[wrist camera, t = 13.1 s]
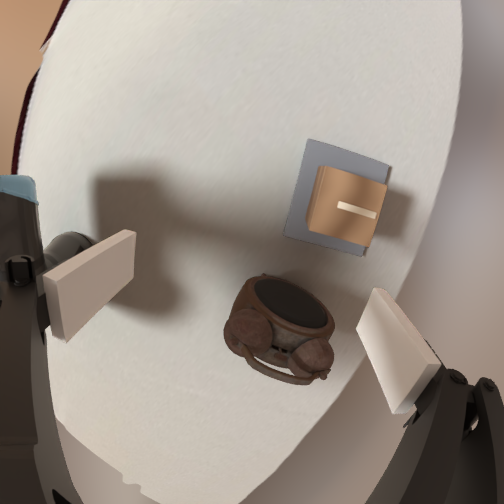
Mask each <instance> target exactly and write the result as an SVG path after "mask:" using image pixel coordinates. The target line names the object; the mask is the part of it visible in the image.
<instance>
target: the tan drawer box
mask: <svg viewBox="0 0 504 504" xmlns="http://www.w3.org/2000/svg"><path fill="white" fill-rule="evenodd" d="M386 190H387V186H386V185H384V184H381V183H378V182H375V181H372V180H369V179H367V178H364V177H361V176H358V175H355V174H352V173H348V172H345V171H342V170H339V169H336V168H332V167H329V166H318V170H317V174H316V178H315V182H314V186H313V190H312V193H311V197H310V201H309V205H308V208H307V212H306V216H305V220H306V223H307V226H308V228H309V230H310V231H313V232H317V233H321V234H324V235H328V236H332V237H335V238H339V239H342V240H346V241H349V242H353V243H356V244H360V245H363V246H367V247H369V246H370V243H371V240H372V237H373V234H374V231H375V227H376V224H377V221H378V218H379V214H380V211H381V208H382V204H383V201H384V197H385V193H386Z"/></svg>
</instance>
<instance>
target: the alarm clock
mask: <svg viewBox="0 0 504 504" xmlns="http://www.w3.org/2000/svg"><path fill="white" fill-rule="evenodd" d="M334 329H335V323H334V320H333V317H332V316H331V314H330V313H329V311H328V310H327V308H326V307H325V306H324V305H323V304H322V303H321V302H320V301H319V300H318V299H317V298H316V297H314V295H312V294H310V293H309V292H307V291H306V290H304V289H302V288H300V287H299V286H297V285H295V284H292V283H290V282H287V281H285V280H282V279H278V278H273V277H266V275H265V274H262V275H261V276H258V277H252V278H250V279H248V280H247V281H246V282H245V284H244V285H243V287H242V289H241V290H240V292H239V294H238V295H237V297H236V299H235V302H234V304H233V307H232V310H231V313H230V316H229V319H228V320H227V322H226V324H225V327H224V339H225V342H226V344H227V346H228V347H229V349H230V350H231V351H232V352H233V353H235V354H237V355H238V356H240V357H245V359H246V361H247V363H248V364H249V365H250V366H251V367H252V368H253V369H255V370H257V371H259V372H260V373H262V374H264V375H266V376H269V377H271V378H274V379H277V380H280V381H283V382H286V383H290V384H295V385H309V384H311V382H312V381H313V380H314V379H317V378H319V377H320V379H322V380H325V379H326V378H327V374H328V373H329V372H330V371H331V369H330V368H331V366H332V364H333V361H334V352H333V349H332V347H331V345H330V344H329V342H328V341H329V339H330V337H331V335H332V333H333V331H334ZM254 357H257V358H259V359H260V360H262V361H264V362H266V363H269V364H271V365H274V366H277V367H282V368H288V369H290V371H291V372H292V373H293V374H294V375H295V376H293V375H289V374H286V373H283V372H280V371H277V370H275V369H272V368H270V367H268V366H266V365H264V364H263V363H261V362H259V361H257V360H256V359H255V358H254Z"/></svg>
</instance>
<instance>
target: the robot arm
mask: <svg viewBox="0 0 504 504" xmlns="http://www.w3.org/2000/svg"><path fill="white" fill-rule="evenodd" d="M38 205H39V203H38V201H37V194H36V185H35V181H34V180H33V179H32V178H31V177H29V176H25V175H0V504H83V502H82V500H81V498H80V496H79V495H78V493H77V491H76V489H75V487H74V486H73V483H72V480H71V477H70V474H69V471H68V468H67V465H66V461H65V458H64V454H63V451H62V447H61V443H60V439H59V435H58V430H57V426H56V420H55V415H54V410H53V403H52V397H51V390H50V381H49V372H48V359H47V339H46V333H45V329H46V328H47V327H48V326H49V325H50V326H51V331H52V336H53V337H54V338H56V339H58V340H60V341H62V342H64V343H67V342H68V341H69V340H70V339H71V338H72V337H73V336H74V335H75V334H76V333H77V332H78V331H79V330H80V329H81V328H82V327H83V326H84V325H85V324H86V323H87V322H88V321H89V320H90V319H91V318H92V317H93V316H94V315H95V314H96V313H97V312H98V311H99V310H100V309H101V308H102V307H103V306H104V305H105V304H106V303H107V302H109V301H110V300H111V299H112V298H113V297H114V296H115V295H116V294H117V293H118V292H119V291H120V290H121V289H122V288H123V287H124V286H125V285H127V284H128V283H129V282H130V281H131V280H132V279H133V276H134V258H135V244H136V232H134V231H130V230H126V229H124V230H122V231H120V232H118V233H116V234H114V235H112V236H111V237H109V238H107V239H105V240H103V241H101V242H99V243H97V244H96V245H94V246H92V244H91V243H90V242H89V241H88V240H87V239H86V238H85V237H83V236H82V235H80V234H78V233H75V232H66V233H63V234H61V235H59V236H57V237H55V238H54V239H53V240H52V242H51V243H50V244H49V245H48V246H47V247H46V248H45V249H44V251H43V246H42V239H41V231H40V223H39V213H38ZM356 330H357V332H358V334H359V337H360V339H361V341H362V343H363V345H364V348H365V350H366V352H367V354H368V356H369V359H370V361H371V363H372V366H373V368H374V370H375V373H376V375H377V377H378V380H379V382H380V384H381V387H382V389H383V392H384V394H385V397H386V399H387V402H388V404H389V407H390V409H391V412H392V414H405V413H407V412H408V411H409V409H410V408H411V407H412V406H413V404H415V406H416V408H417V410H416V411H415V413H414V414H413V415H412V416H411V417H410V419H409V420H408V421H407V422H406V423H405V424H404V426H403V427H404V428H405V427H406V426H407V425H408V427H407V429H406V431H405V433H404V436H403V438H402V440H401V442H400V444H399V446H398V448H397V450H396V452H395V454H394V456H393V458H392V460H391V461H390V463H389V465H388V467H387V469H386V470H385V472H384V474H383V476H382V477H381V479H380V481H379V483H378V484H377V486H376V487H375V489H374V491H373V492H372V494H371V495H370V497H369V498H368V500H367V501H366V503H365V504H504V405H503V402H502V399H501V396H500V393H499V390H498V388H497V386H496V385H495V383H494V382H493V381H492V380H491V379H488V378H485V377H482V378H480V379H479V381H478V382H477V384H476V385H475V386H473V385H469V384H468V381H467V379H466V378H465V376H464V375H463V374H462V373H460V372H459V371H457V370H454V369H446V368H445V366H444V365H443V363H442V362H441V360H440V359H439V357H438V356H437V355H436V354H435V352H434V350H433V349H431V346H430V345H429V344H428V342H427V341H426V340H425V339H424V338H423V337H422V336H421V335H420V333H419V332H418V331H417V329H416V328H415V327H414V325H413V324H412V323H411V321H410V320H409V319H408V318H407V316H406V315H405V314H404V312H403V311H402V310H401V309H400V308H399V306H398V305H397V304H396V302H395V301H394V300H393V299H392V297H391V296H390V295H389V294H388V293H387V291H386V290H385V289H380V288H376V287H374V288H373V290H372V293H371V295H370V298H369V300H368V302H367V305H366V307H365V309H364V312H363V314H362V316H361V319H360V321H359V323H358V325H357V327H356ZM477 420H478V424H477V426H476V428H475V429H474V430H472V427H471V426H472V425H473V424H474V423H475V422H476V421H477Z"/></svg>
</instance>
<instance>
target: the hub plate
mask: <svg viewBox="0 0 504 504" xmlns="http://www.w3.org/2000/svg"><path fill="white" fill-rule="evenodd" d="M318 166H329V167H332V168H336V169H339V170H342V171H345V172H348V173H352V174H355V175H358V176H361V177H364V178H367V179H369V180H372V181H375V182H378V183H381V184H384V183H385V180H386V176H387V172H388V168H389V165H387V164H384V163H382V162H379V161H376V160H374V159H371V158H368V157H365V156H363V155H360V154H357V153H354V152H351V151H348V150H345V149H342V148H339V147H335V146H332V145H329V144H326V143H322V142H319V141H315V140H312V139H308V140H307V144H306V148H305V152H304V156H303V160H302V164H301V168H300V172H299V176H298V180H297V184H296V188H295V191H294V195H293V199H292V203H291V207H290V211H289V214H288V218H287V222H286V226H285V229H284V233H283V236H286V237H290V238H293V239H297V240H301V241H305V242H309V243H313V244H316V245H320V246H324V247H328V248H331V249H335V250H339V251H343V252H346V253H350V254H354V255H357V256H361V257H362V255H363V252H364V249H365V246H363V245H360V244H356V243H353V242H349V241H346V240H342V239H339V238H335V237H332V236H328V235H324V234H321V233H317V232H313V231H310V230H309V228H308V226H307V223H306V220H305V216H306V212H307V208H308V205H309V201H310V197H311V193H312V190H313V186H314V182H315V178H316V174H317V170H318Z"/></svg>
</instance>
